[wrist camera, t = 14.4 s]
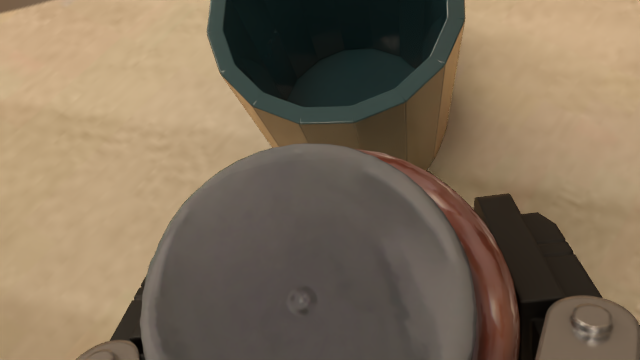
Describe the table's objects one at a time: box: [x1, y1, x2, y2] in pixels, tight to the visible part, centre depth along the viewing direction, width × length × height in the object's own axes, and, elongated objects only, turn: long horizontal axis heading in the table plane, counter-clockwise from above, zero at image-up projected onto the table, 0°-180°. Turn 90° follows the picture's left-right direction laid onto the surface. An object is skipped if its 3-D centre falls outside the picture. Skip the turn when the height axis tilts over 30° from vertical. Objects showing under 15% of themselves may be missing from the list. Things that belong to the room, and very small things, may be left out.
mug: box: [207, 0, 465, 171], centre depth 23 cm, size 12×9×10 cm
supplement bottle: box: [140, 143, 520, 360], centre depth 11 cm, size 6×6×11 cm
